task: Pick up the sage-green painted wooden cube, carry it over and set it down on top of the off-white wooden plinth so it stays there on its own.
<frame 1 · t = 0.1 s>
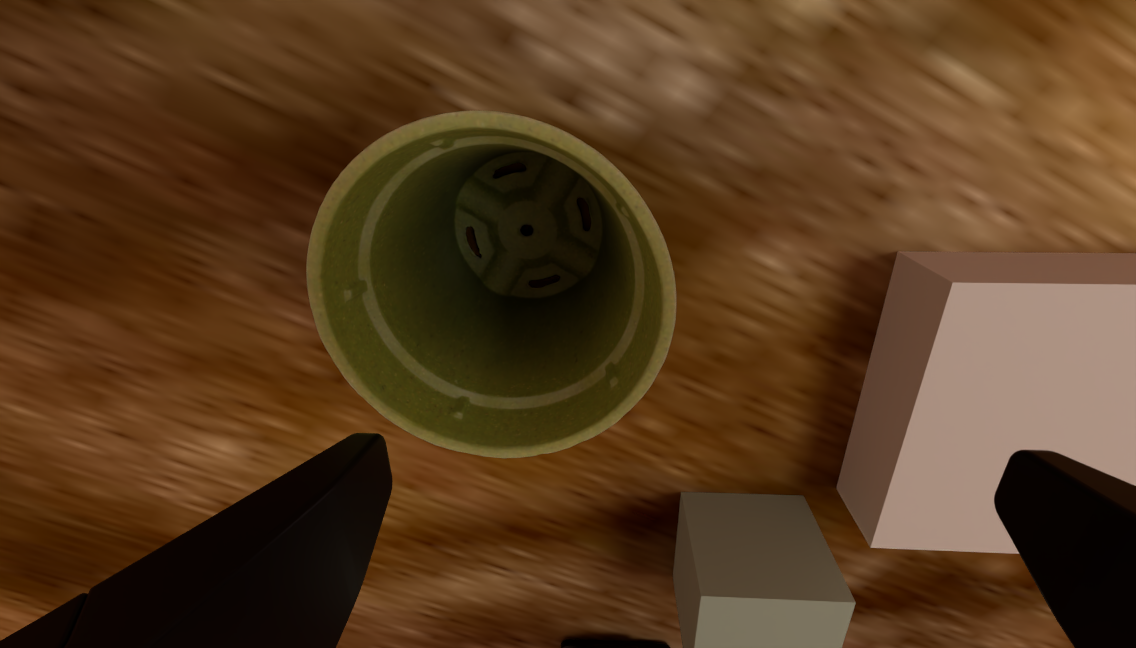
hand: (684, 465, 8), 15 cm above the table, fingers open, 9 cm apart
plinth: (976, 380, 23), on the table
sage cube: (734, 537, 28), on the table
plant pot: (531, 225, 21), on the table
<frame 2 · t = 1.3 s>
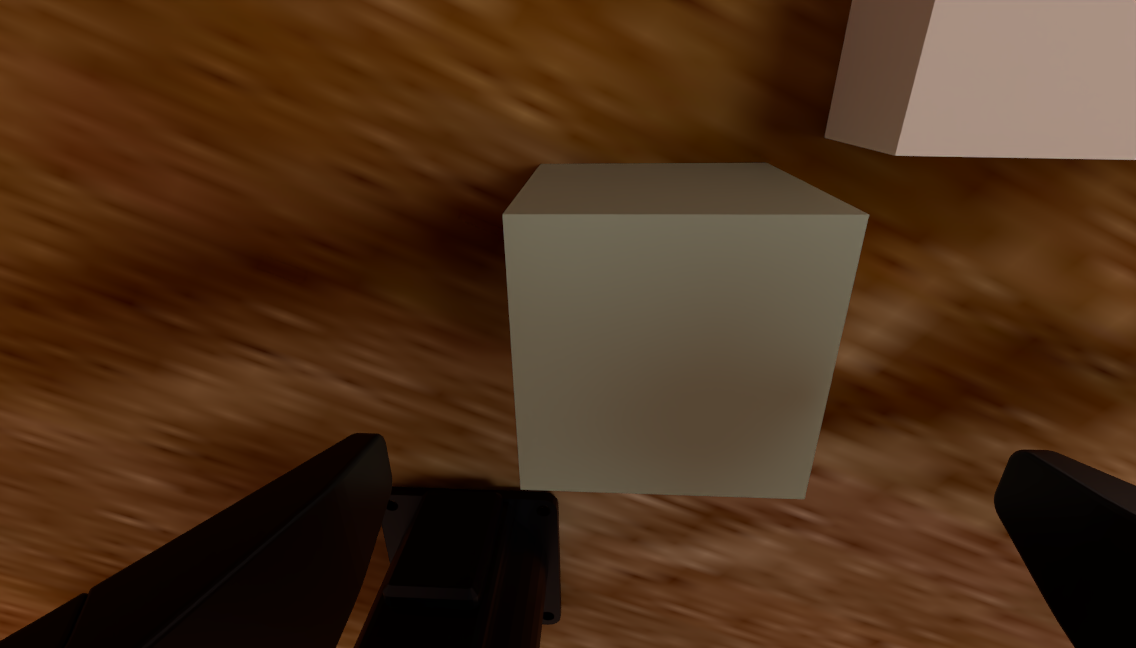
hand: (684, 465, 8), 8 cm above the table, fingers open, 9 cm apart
sage cube: (646, 269, 15), on the table
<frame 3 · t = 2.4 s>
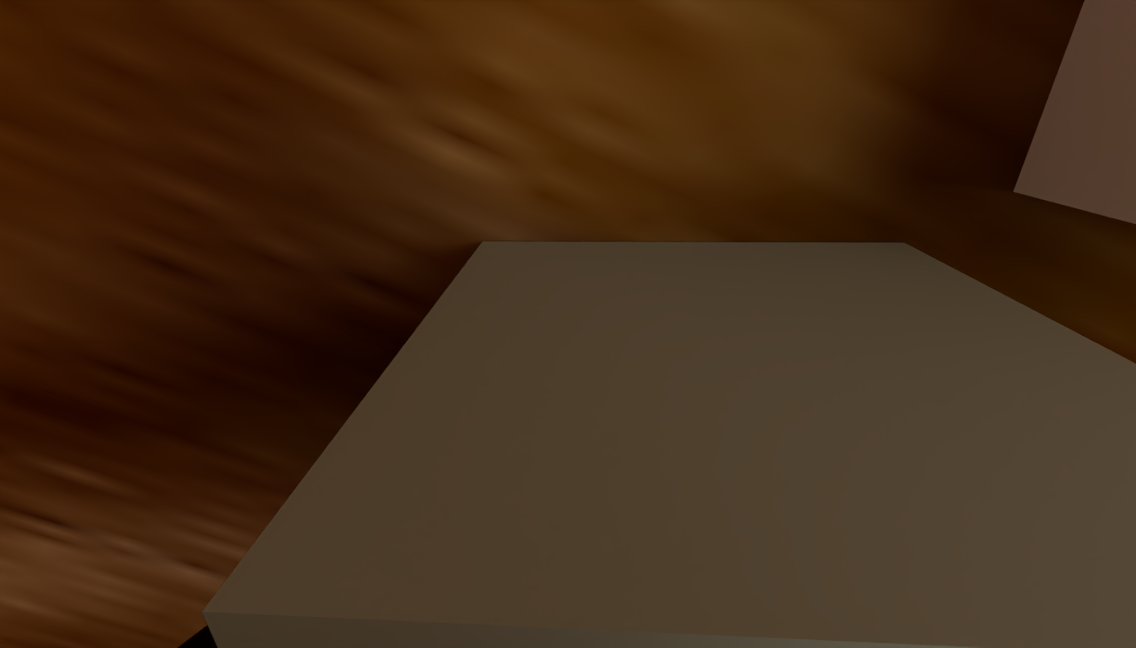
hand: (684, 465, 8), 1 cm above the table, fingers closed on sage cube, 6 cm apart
sage cube: (674, 416, 9), on the table, touching gripper
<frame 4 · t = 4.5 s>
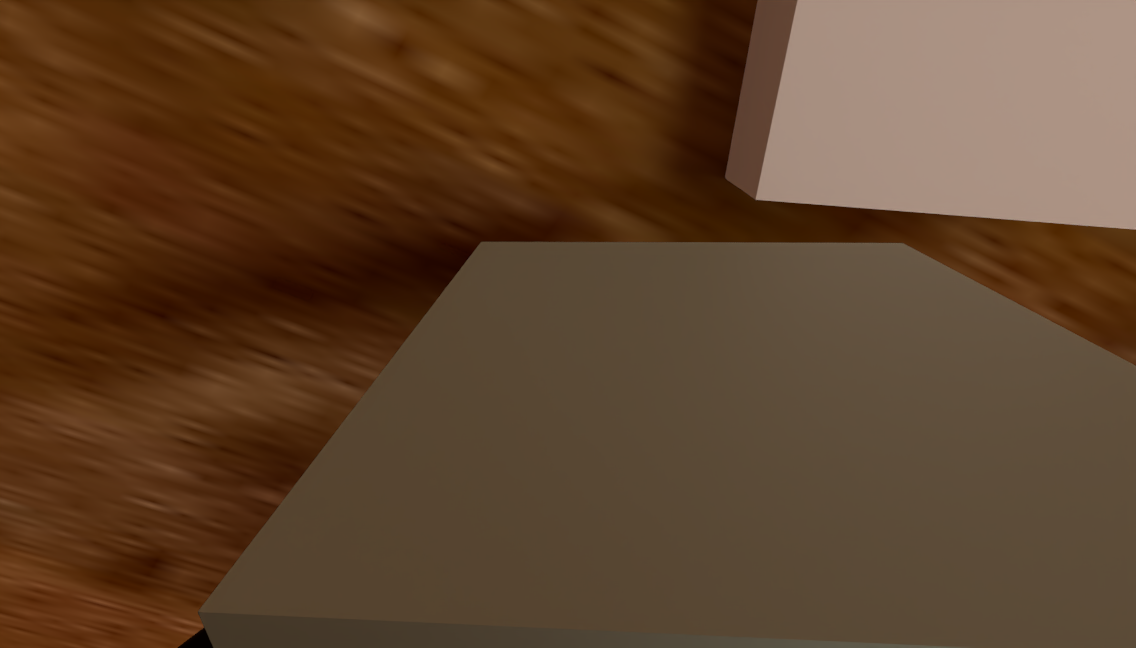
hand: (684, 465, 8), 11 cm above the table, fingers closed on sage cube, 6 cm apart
sage cube: (672, 416, 9), point 10 cm above the table, touching gripper
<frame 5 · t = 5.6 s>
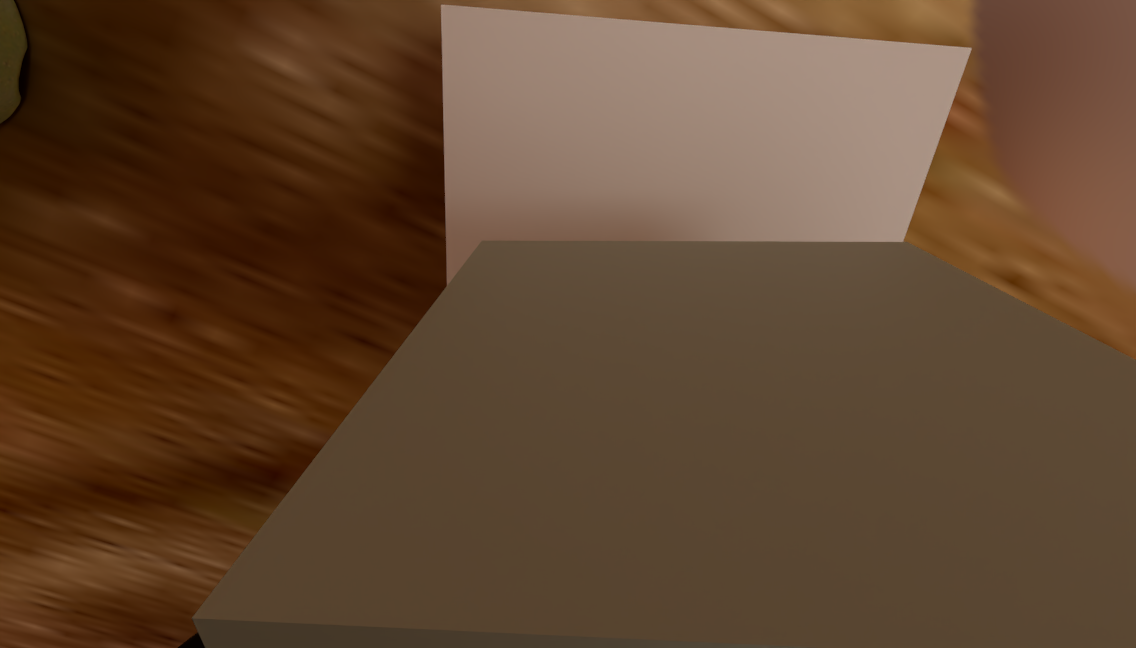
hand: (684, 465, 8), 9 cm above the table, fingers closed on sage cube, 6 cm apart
plinth: (644, 262, 16), on the table
sage cube: (674, 417, 9), point 8 cm above the table, touching gripper
when the fingers open (7 cm above the table, at t = 6.4 s): sage cube drops 2 cm, resting on plinth.
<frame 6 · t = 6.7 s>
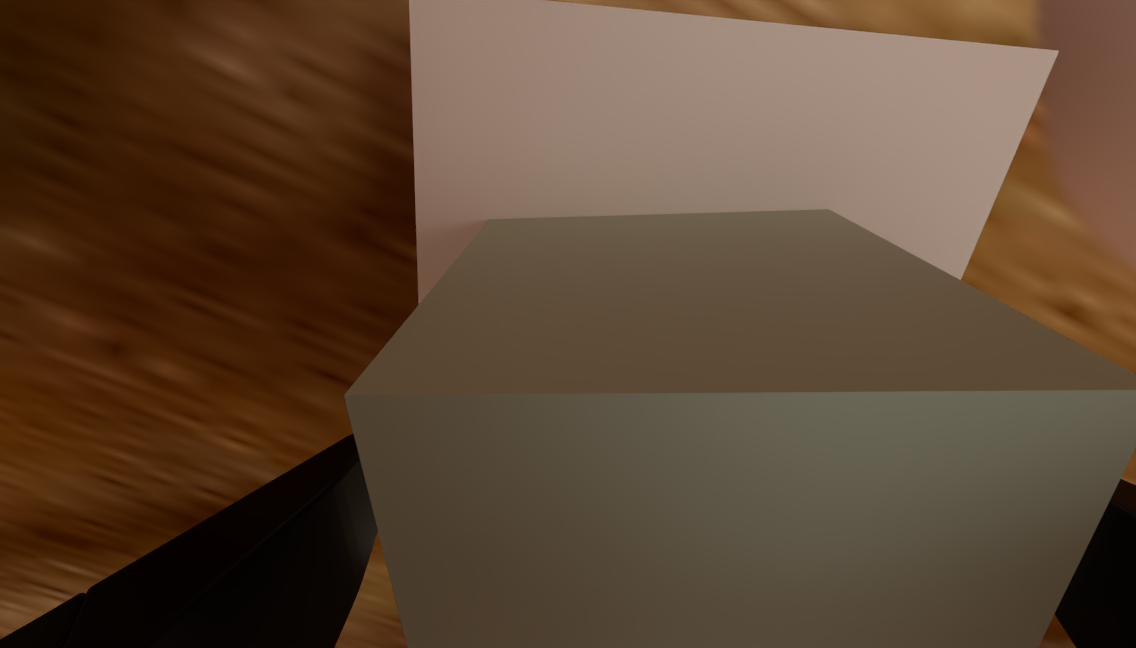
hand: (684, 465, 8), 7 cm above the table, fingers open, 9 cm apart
plinth: (648, 289, 14), on the table, touching sage cube
sage cube: (651, 362, 11), point 4 cm above the table, touching plinth
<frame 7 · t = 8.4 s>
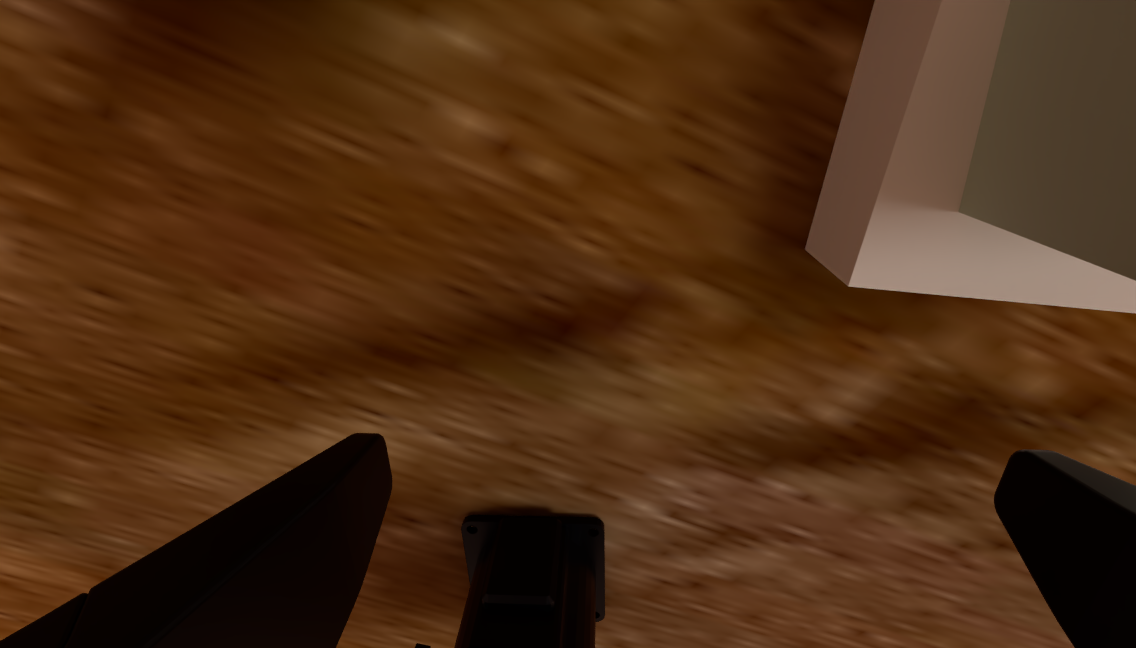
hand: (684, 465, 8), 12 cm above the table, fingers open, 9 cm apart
plinth: (1018, 70, 16), on the table
sage cube: (1124, 79, 12), point 4 cm above the table
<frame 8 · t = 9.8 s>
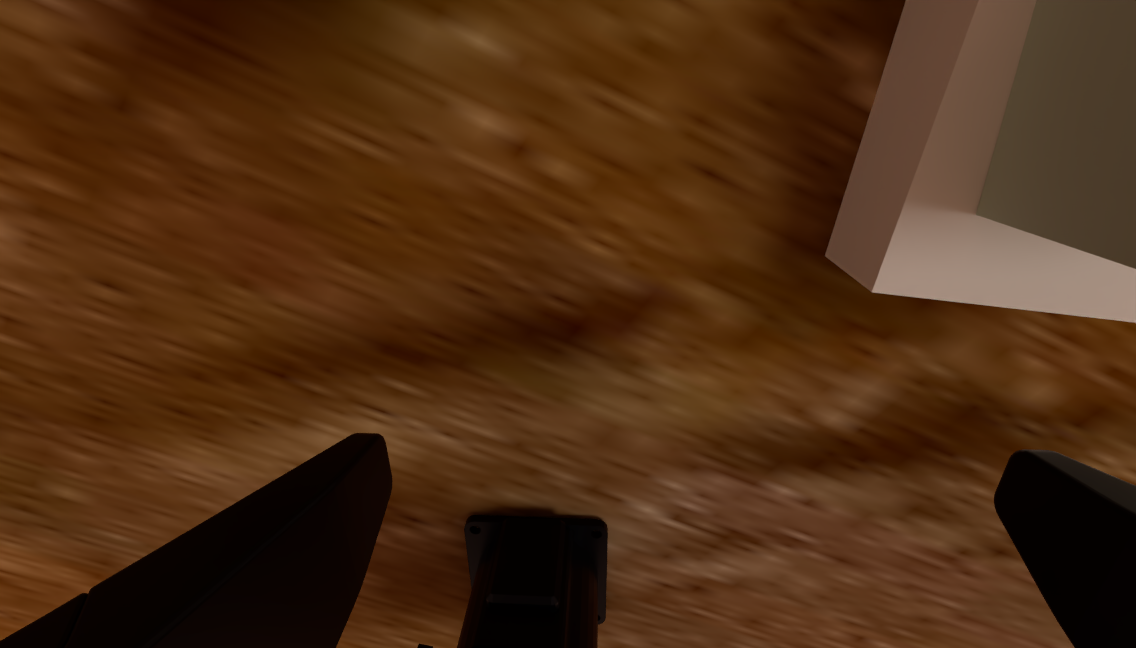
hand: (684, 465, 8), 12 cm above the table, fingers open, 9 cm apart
plinth: (1038, 84, 16), on the table
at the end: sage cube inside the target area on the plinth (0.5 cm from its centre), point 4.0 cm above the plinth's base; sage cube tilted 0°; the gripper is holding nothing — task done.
